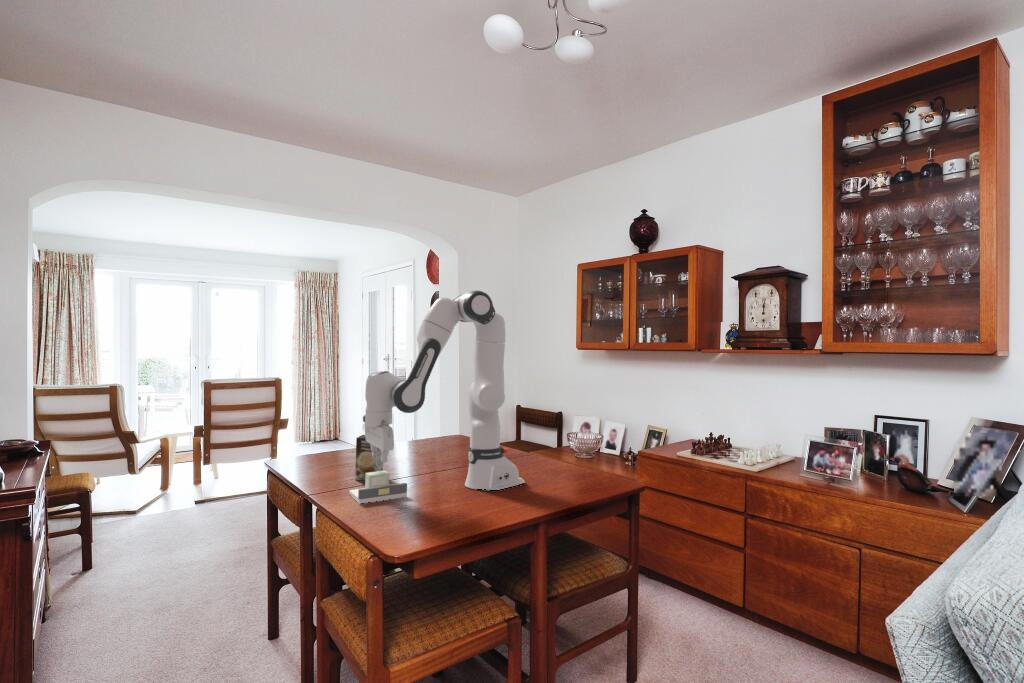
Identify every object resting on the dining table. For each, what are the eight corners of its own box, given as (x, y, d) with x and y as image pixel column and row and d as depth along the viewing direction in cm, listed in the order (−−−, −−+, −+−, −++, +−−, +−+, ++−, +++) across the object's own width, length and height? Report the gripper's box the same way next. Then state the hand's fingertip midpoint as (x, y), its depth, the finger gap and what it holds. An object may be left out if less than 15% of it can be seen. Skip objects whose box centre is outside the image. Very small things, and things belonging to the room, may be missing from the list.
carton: (365, 490, 173) (365, 472, 173) (385, 487, 176) (385, 470, 177) (368, 493, 169) (369, 475, 169) (389, 490, 173) (389, 473, 173)
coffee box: (354, 480, 191) (355, 437, 191) (360, 475, 197) (361, 434, 197) (377, 481, 190) (378, 438, 190) (383, 477, 196) (384, 435, 196)
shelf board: (394, 488, 181) (394, 475, 181) (407, 497, 171) (407, 483, 171) (349, 494, 173) (349, 481, 173) (359, 504, 162) (359, 490, 162)
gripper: (398, 422, 166) (399, 464, 166) (378, 414, 183) (379, 452, 183) (379, 423, 163) (380, 467, 163) (361, 416, 180) (361, 455, 180)
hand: (379, 459), depth 173 cm, fingers open, 8 cm apart
